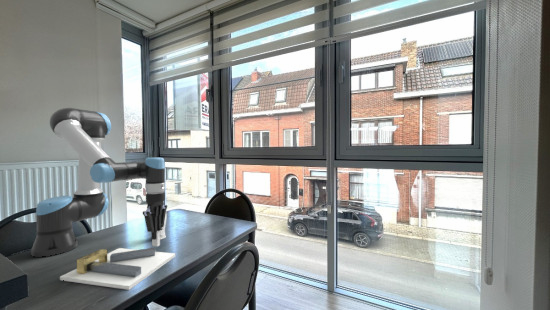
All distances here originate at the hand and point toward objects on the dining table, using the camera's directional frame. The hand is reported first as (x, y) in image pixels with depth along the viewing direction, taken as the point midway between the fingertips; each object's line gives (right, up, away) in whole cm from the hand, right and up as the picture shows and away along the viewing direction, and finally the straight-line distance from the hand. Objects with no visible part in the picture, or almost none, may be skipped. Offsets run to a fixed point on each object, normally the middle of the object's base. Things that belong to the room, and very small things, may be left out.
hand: (156, 245), depth 102 cm
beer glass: (-7, -3, +17) cm, 18 cm away
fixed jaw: (-7, -2, -19) cm, 20 cm away
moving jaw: (-5, -2, -8) cm, 10 cm away
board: (-6, -3, -13) cm, 15 cm away
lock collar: (-16, -2, -16) cm, 22 cm away
